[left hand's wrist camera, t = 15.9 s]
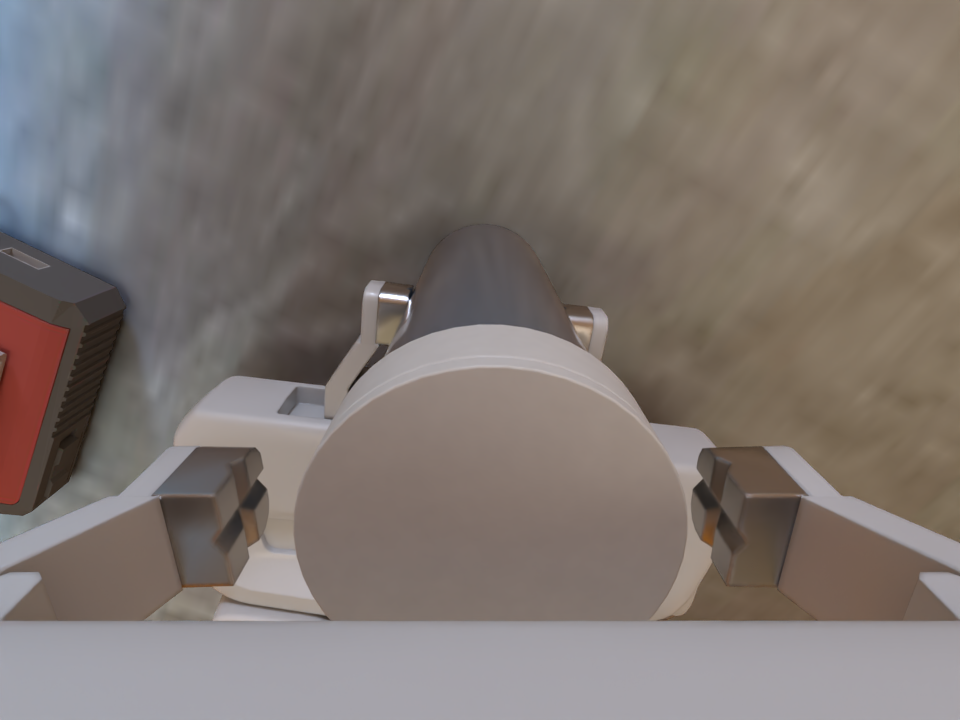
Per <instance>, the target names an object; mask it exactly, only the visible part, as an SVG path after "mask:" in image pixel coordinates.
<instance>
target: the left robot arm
mask: <svg viewBox="0 0 960 720" xmlns="http://www.w3.org/2000/svg"><path fill="white" fill-rule="evenodd" d="M263 469H264V467H263V462H262V458H261V453H260V452H259V451H258V449H257V448H256V447H216V446H202V447H201V446H175V447H169V448H168V449H167V450H165V451H164V452H163V453H162V454H161V455H160V456H159V457H158V458H157V459H156V460H155V461H154V462H153V463H152V464H151V465H150V466H149V467H148V468H147V469H146V470H145V471H144V472H143V473H141V474H140V475H139V476H138V477H137V478H136V479H135V480H134V481H133V482H132V483H131V484H130V485H129V486H128V487H127V488H126V489H125V490H124V491H123V492H122V493H121V494H120V495H119V496H108V497H106V498H103V499H101V500H99V501H96V502H94V503H92V504H89V505H87V506H85V507H82V508H80V509H78V510H75V511H73V512H71V513H68V514H66V515H64V516H61V517H59V518H57V519H54V520H52V521H50V522H47V523H45V524H43V525H40V526H38V527H36V528H33V529H31V530H29V531H26V532H24V533H22V534H19V535H17V536H15V537H12V538H10V539H8V540H5V541H3V542H1V543H0V720H960V543H959V542H957V541H954V540H952V539H950V538H947V537H945V536H943V535H940V534H938V533H936V532H933V531H931V530H929V529H926V528H924V527H922V526H919V525H917V524H915V523H912V522H910V521H908V520H905V519H903V518H901V517H898V516H896V515H894V514H891V513H889V512H887V511H885V510H882V509H880V508H878V507H875V506H873V505H871V504H868V503H866V502H864V501H861V500H859V499H857V498H854V497H852V496H842V495H840V494H839V493H838V492H837V491H836V490H835V489H834V488H833V487H832V486H831V485H830V484H829V483H828V482H827V481H826V480H825V479H824V478H823V477H822V476H821V475H820V474H819V473H818V472H817V471H816V470H814V469H813V468H812V467H811V466H810V465H809V464H808V463H807V462H806V461H805V460H804V459H803V458H802V457H801V456H800V455H799V454H798V453H797V452H796V451H795V450H794V449H793V448H790V447H787V446H759V447H718V448H702V450H701V452H700V454H699V456H698V462H697V467H696V469H697V470H698V472H699V473H700V475H701V476H702V478H703V479H702V480H701V481H700V482H699V483H698V484H697V485H696V486H695V487H694V488H693V490H692V498H691V514H692V521H693V524H694V528H695V531H696V532H697V534H698V536H699V538H700V540H701V541H703V542H704V543H706V544H707V545H709V546H710V547H712V552H711V560H712V561H713V563H714V565H715V567H716V569H717V570H718V572H719V574H720V576H721V577H722V579H723V581H724V583H725V584H726V586H741V587H778V588H777V590H778V591H780V592H781V593H782V594H783V595H785V596H786V597H787V598H789V599H790V600H791V601H792V602H794V603H795V604H796V605H798V606H799V607H800V608H802V609H803V610H804V611H805V612H807V613H808V614H809V615H811V616H812V617H813V618H815V619H816V620H817V621H143V620H144V619H146V618H147V617H148V616H150V615H151V614H152V613H153V612H155V611H156V610H157V609H159V608H160V607H161V606H163V605H164V604H165V603H166V602H168V601H169V600H170V599H172V598H173V597H174V596H176V595H177V594H178V593H179V592H181V591H182V590H183V589H182V587H217V586H234V584H235V583H236V581H237V579H238V577H239V576H240V574H241V572H242V570H243V569H244V567H245V565H246V563H247V561H248V560H249V552H248V547H250V546H251V545H253V544H254V543H256V542H257V541H259V540H260V538H261V536H262V534H263V532H264V530H265V528H266V524H267V520H268V515H269V497H268V490H267V488H266V487H265V486H264V485H263V484H262V483H261V482H260V481H259V480H258V479H257V478H258V476H259V475H260V473H261V472H262V470H263Z"/></svg>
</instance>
